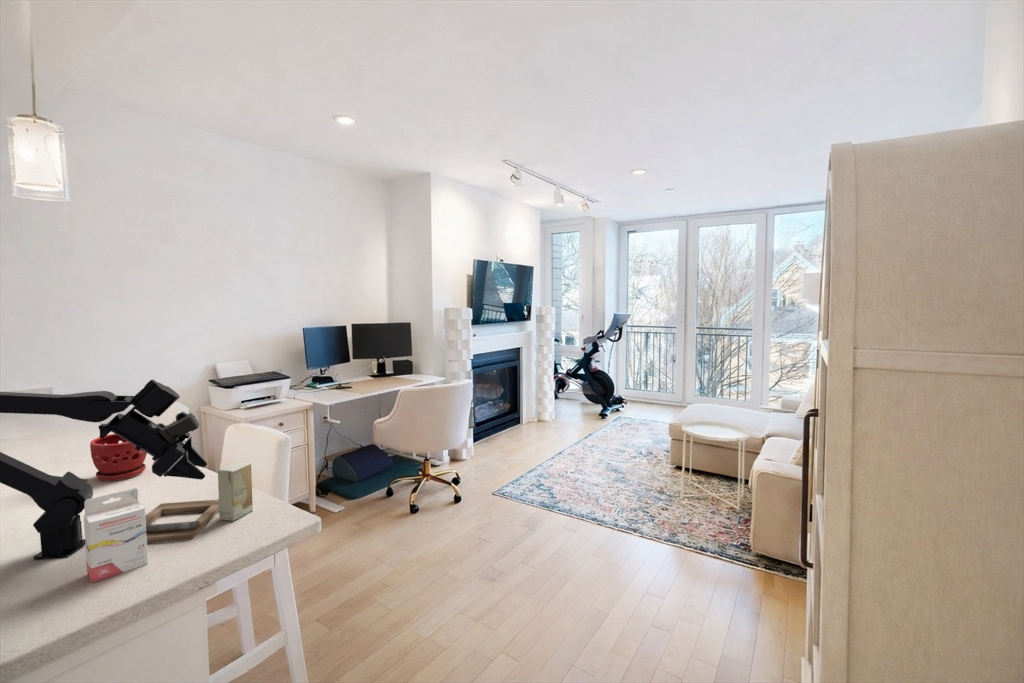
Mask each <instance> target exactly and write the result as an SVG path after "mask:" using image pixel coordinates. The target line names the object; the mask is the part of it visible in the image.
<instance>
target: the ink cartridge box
mask: <svg viewBox="0 0 1024 683" xmlns="http://www.w3.org/2000/svg"><path fill="white" fill-rule="evenodd" d="M138 492H139V491H138V488H131V489H130V488H129V489H127V490H122V491H117V492H114V493H113V492H112V493H108V494H105V495H100V496H95V497H92V498H91V499H87V500H85V502H84V507H85V508H84V516H83V525H84V526H83V527H84V529H83V530H84V539H85V545H84V546H85V558H86V559H85V560H86V562H85V563H86V574H87V575H88V578H89V579H90V581H91V583H96V582H98V581H99V582H100V581H103V580H105V579H108V578H111V577H114V576H116V575H119V574H120V575H121V574H122V573H126V572H128V571H129V572H130V571H131V570H134V569H138V568H140V567H143V566H146V565H148V564H149V561H148V560H149V559H148V543H147V536H146V518H145V515H146V508H145V506H143V504H142V503H141V502H139V497H138V495H139V494H138ZM112 498H113V499H119V498H121V499H120V500H115V501H112V502H111V501H110V502H108V503H104V502H106V501H109V500H111V499H112Z"/></svg>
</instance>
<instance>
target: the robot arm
mask: <svg viewBox="0 0 1024 683" xmlns="http://www.w3.org/2000/svg"><path fill="white" fill-rule="evenodd" d="M180 398H181V396H180V395H179V394H178V392H176V391H175V390H174V389H172V388H171V387H170V386H168V385H165V384H163V383H161V382H158V381H156V380H155V379H150V380H149V381H147V383H146V384H145V386H143V388H142V389H141V390H139V392H137V393H136V394H135V395H116V394H115V393H114V392H111V391H108V390H99V391H98V390H97V391H96V390H95V391H83V392H77V393H76V392H75V393H70V394H54V393H52V394H51V393H33V392H15V391H0V414H19V415H20V414H23V415H24V414H26V415H48V416H49V415H52V416H54V415H55V416H59V417H65V418H68V419H72V420H76V421H82V422H89V423H100V425H98V429H99V437H100V438H101V439H103V438H104V437H105V436H106V435H110V433H112V434H116V435H118V436H120V437H121V438H123V439H125V440H126V441H128V442H130V443H131V444H133V445H134V446H135V448H134V449H135V450H137V451H139V450H140V449H141V450H143V451H144V452H146V453H147V455H150V456H151V457H152V458H151V460H152V461H153V463H152V465H151V472H152V473H153V474H154V475H156V476H158V477H159V478H161V477H162V476H163V477H175V478H183V479H184V478H185V479H192V480H193V479H194V480H200V481H201V480H203V479H205V477H206V474H205V473H204V472H203V471H202V470H200V469H199V468H200V467H201V468H205V467H206V466H207V465H208V462H207V461H206V460H205V459H204V458H203V457H202V456H201V455H200V454H199V452H198V451H197V450H196V449H195V448H194V446H193V442H192V441H193V437H192V436H191V433H190V432H194V431H195V430H197V429H198V428H199V427H200V422H199V421H198V420H197V419H196V415H194V413H192V412H189V413H187V412H184V411H181V412H179V413H177V414H176V415H175V420H174V421H172V422H171V423H169V424H167V425H166V424H164V423H161V422H160V423H159V422H158V423H155V422H154V421H152V420H151V419H152V418H154V417H158V418H159V417H161V416H162V415H163V414H164V413H166V411H167V410H168V409H169V408H170V407H172V405H174V404H175V403H176V402H177V401H178V400H179V399H180ZM130 406H133V407H132V408H131V409H129V410H128V411H127V412H126V413H125V414H124V413H122V412H124V411H125V410H127V409H128V408H129V407H130ZM114 414H116V415H115V416H114V417H113V418H112V419H110V420H109V421H108V422H107V423H101V422H104V421H106V420H108V419H109V418H111V417H112V416H113V415H114ZM149 418H151V419H149ZM198 467H199V468H198ZM88 481H89V479H87V478H81V477H79V476H77V475H75V474H74V473H72V472H71V471H67V472H65V474H64V475H63V476H58V475H52V474H48V473H46V472H44V471H42V470H39V469H38V468H35V467H33V466H31V465H30V464H27V463H24V462H23V461H20V460H18V459H16V458H14V457H12V456H10V455H8V454H5V453H4V452H2V451H0V484H2V485H5V486H7V487H9V488H11V489H13V490H16V491H18V492H20V493H23V494H25V495H26V496H28V497H30V498H31V499H32V501H33V502H34V503H35V504H36V505H37V507H38V508H40V509H41V510H43V511H44V512H43V513H42V514H41V515H40V516H39V517H38V518H37V519H36V520H35V521H34V522H33V524H32V525H33V528H34V529H35V530H36V532H37V533H38V534H39V540H40V550H41V551H39V552H38V553H37V554H35V555H33V556H32V560H40V559H41V560H42V559H53V558H62V557H63V558H65V557H70V556H72V555H73V554H74V553H75V552H77V551H78V550H80V549H81V548H83V547H84V546H85V538H83V530H82V529H83V528H82V527H83V526H82V520H81V513H83V511H84V510H85V507H84V502H85V500H87V499H91V498H93V496H94V488H93V487H92V485H91V484H90V483H87V482H88Z"/></svg>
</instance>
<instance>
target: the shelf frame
mask: <svg viewBox="0 0 1024 683" xmlns="http://www.w3.org/2000/svg"><path fill="white" fill-rule="evenodd" d="M175 513H180V514H189V513H190V514H191V513H202V514H201V515H199V517H198V518H196V520H193V521H180V522H168V523H157V524H156V523H155V524H153V523H154V522H156V521H157V520H158V519H160V518H161V517H162V516H163V515H162V514H167V515H176V514H175ZM217 513H218V514H219V498H218V499H207V500H192V501H179V502H178V501H177V502H164V503H163V502H162V503H160V504H158V505H157V506H156V507H155V508H153V509H152V510H151V511H149V512H148V513H146V514H145V518H146V536H147V544H152V542H154V543H165V542H164V541H166V542H175V541H176V542H177V541H187V540H193V539H194V538H195V537H196V536H197V535H198V534H199V533H200V532H201V531H202V530H203V529H204V528H206V526H207V525H208V524H209V523H210V522H211V521H212V520H213V519H214V518H215V517H216V516H217V515H218V514H217ZM216 514H217V515H216ZM161 515H162V516H161ZM215 515H216V516H215ZM160 516H161V517H160ZM157 518H158V519H157ZM156 519H157V520H156ZM155 520H156V521H155ZM152 522H153V523H152ZM151 523H152V524H151ZM150 524H151V525H150Z"/></svg>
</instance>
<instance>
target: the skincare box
mask: <svg viewBox="0 0 1024 683" xmlns="http://www.w3.org/2000/svg"><path fill="white" fill-rule="evenodd" d="M252 478H253V477H252V463H249V462H248V463H247V462H244V463H243V462H235V463H232V464H231V465H227V466H225V467H222V468H220V469H218V470H217V483H218V485H217V486H218V499H219V513H218V516H219V520H223V521H234V522H235V521H236V519H237V520H238V519H240V518H242V517H243V516H246V515H247V514H250V513H251V512H253V511H252V510H254V508H253V507H254V506H253V482H252V480H253V479H252ZM250 511H251V512H250ZM245 514H246V515H245Z"/></svg>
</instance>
